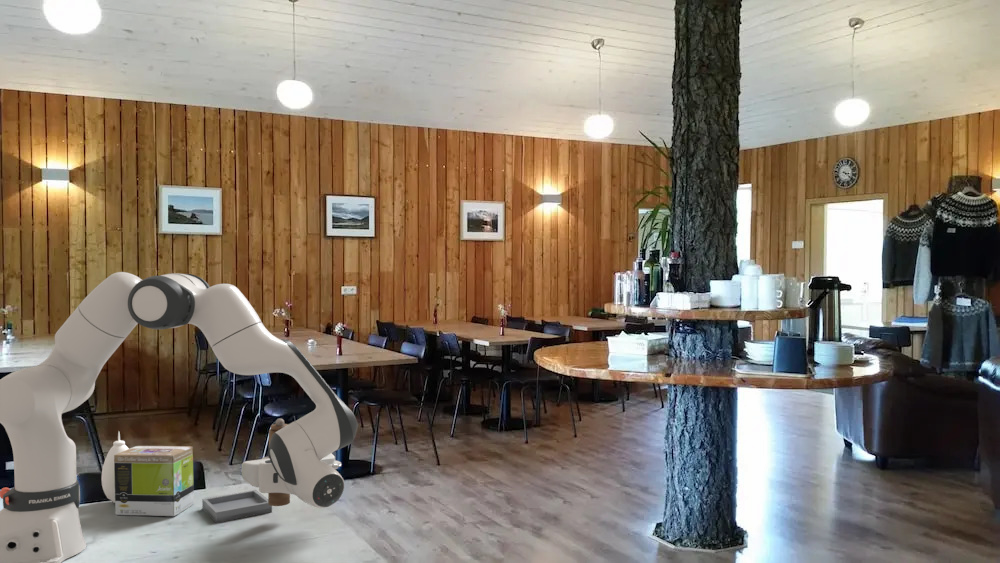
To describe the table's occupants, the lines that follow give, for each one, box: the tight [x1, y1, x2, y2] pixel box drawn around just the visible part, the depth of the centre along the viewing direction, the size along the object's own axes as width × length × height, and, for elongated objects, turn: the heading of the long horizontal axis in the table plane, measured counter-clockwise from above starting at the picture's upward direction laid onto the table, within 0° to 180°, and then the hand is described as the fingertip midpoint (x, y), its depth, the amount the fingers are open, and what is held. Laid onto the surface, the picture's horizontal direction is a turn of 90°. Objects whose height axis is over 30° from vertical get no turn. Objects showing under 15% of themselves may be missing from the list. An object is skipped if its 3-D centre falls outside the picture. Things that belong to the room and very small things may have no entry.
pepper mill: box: [267, 418, 291, 507], centre depth 177 cm, size 5×5×20 cm
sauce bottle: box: [101, 431, 130, 503], centre depth 192 cm, size 8×8×18 cm
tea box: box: [114, 445, 195, 517], centre depth 186 cm, size 15×10×15 cm
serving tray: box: [202, 489, 273, 524], centre depth 186 cm, size 13×12×2 cm
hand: (278, 458), depth 178 cm, fingers closed on pepper mill, 5 cm apart
